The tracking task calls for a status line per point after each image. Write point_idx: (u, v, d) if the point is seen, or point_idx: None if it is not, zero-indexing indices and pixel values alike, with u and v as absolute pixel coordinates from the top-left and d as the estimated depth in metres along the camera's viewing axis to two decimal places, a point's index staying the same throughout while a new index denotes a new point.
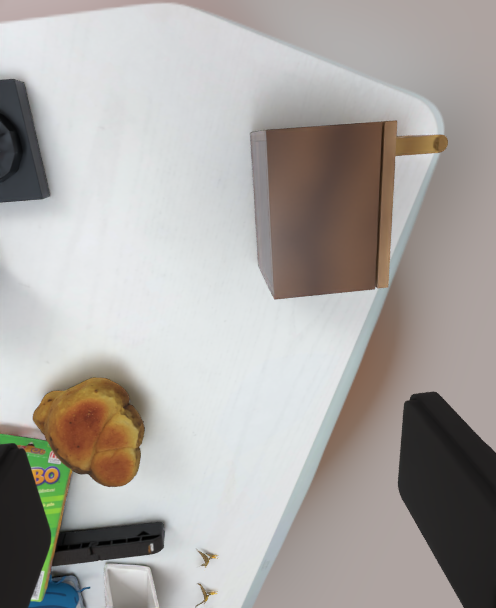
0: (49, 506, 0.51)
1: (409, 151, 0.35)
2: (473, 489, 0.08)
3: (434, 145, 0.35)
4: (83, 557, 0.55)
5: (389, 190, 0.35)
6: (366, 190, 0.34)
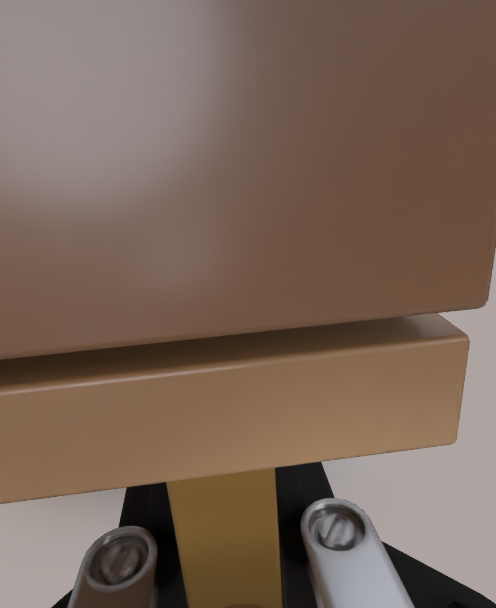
0: None
1: (191, 505, 0.06)
2: None
3: None
4: None
5: None
6: None
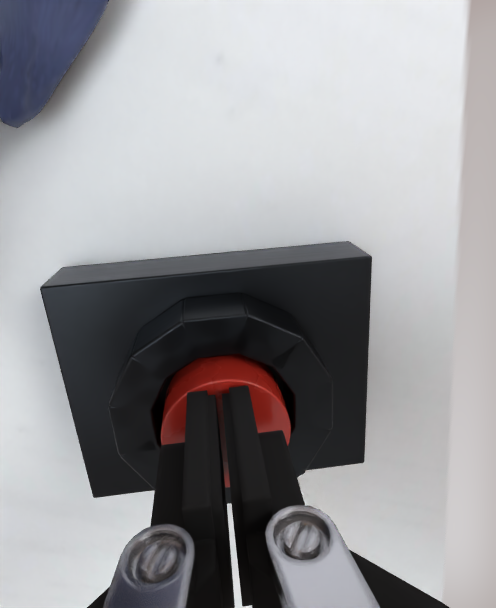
0: None
1: None
2: None
3: None
4: None
5: None
6: None
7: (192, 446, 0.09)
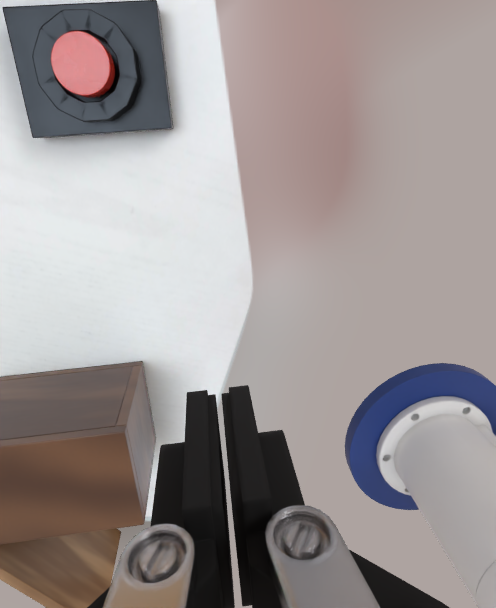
0: None
1: None
2: None
3: None
4: None
5: (51, 606, 0.36)
6: (76, 523, 0.33)
7: (192, 446, 0.09)
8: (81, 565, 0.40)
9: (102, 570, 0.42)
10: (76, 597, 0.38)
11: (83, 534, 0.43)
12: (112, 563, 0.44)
